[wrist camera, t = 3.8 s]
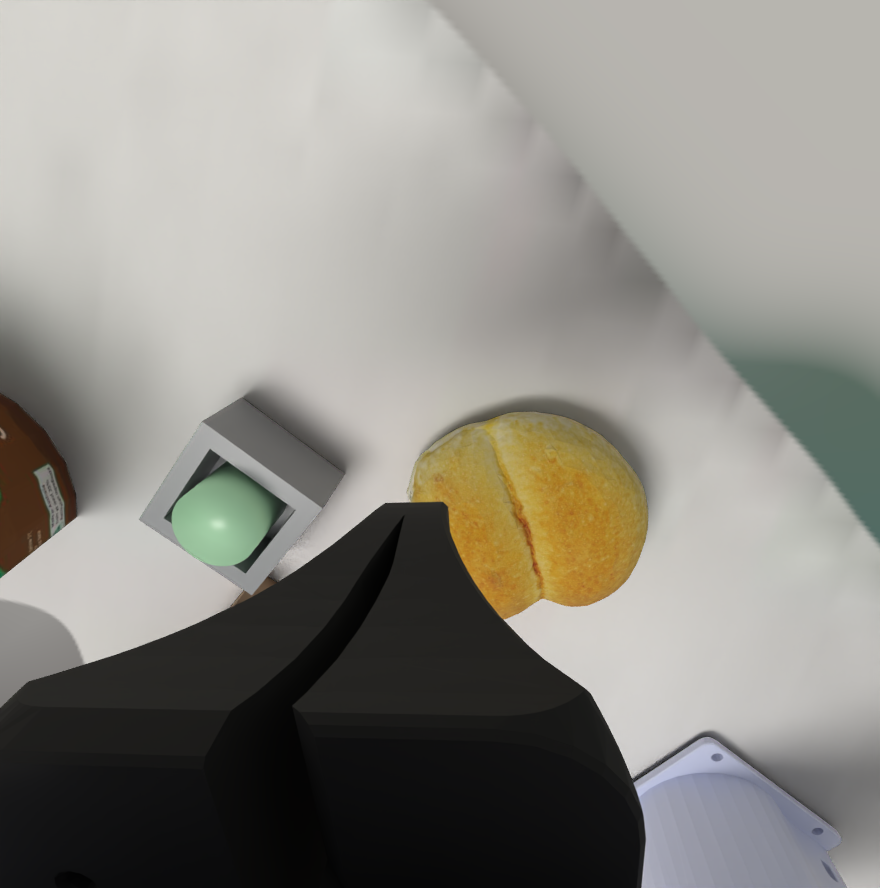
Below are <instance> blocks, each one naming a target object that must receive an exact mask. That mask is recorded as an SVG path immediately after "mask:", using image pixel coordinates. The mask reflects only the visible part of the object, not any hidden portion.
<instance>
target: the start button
mask: <svg viewBox="0 0 880 888" xmlns="http://www.w3.org/2000/svg"><path fill="white" fill-rule="evenodd" d="M286 507H287V503H285V502H284V501H282V500H281V499H280V498H278V497H277V496H275V495H274V494H273V493H271V492H270V491H268V490H267V489H266V488H264V487H263V486H261V485H260V484H259V483H257V482H256V481H254V480H253V479H252V478H250V477H249V476H247V475H246V474H245V473H243V472H242V471H240V470H239V469H238V468H236V467H235V466H233V465H232V464H231V463H229V462H228V461H226V462H225V463H224V464H222V465H221V466H220V467H219V468H217V469H216V470H215V471H214V472H212V473H211V474H210V475H209V476H207V477H206V478H205V479H204V480H202V481H201V482H200V483H199V484H197V485H196V486H195V487H194V488H192V489H191V490H190V491H189V492H188V493H186V494H185V495H184V496H183V497H181V498H180V499H179V500H178V502H177V503H176V505H175V507H174V509H173V512H172V528H173V531H174V534H175V536H176V538H177V540H178V542H179V543H180V544H181V546H182V547H183V548H184V549H185V550H186V551H187V552H188V553H189V554H191V555H192V556H193V557H195V558H196V559H198V560H200V561H202V562H204V563H207V564H211V565H215V566H231V565H235V564H238V563H240V562H242V561H244V560H245V559H246V558H248V556H249V555H250V554H251V553H252V552H253V551H254V549H255V548H256V547H257V545H258V544H259V543H260V542H261V540H262V539H263V538H264V536H265V535H266V534H267V533H268V531H269V530H270V529H271V528H272V526H273V525H274V524H275V522H276V521H277V520H278V519H279V517H280V516H281V515H282V513H283V512H284V511H285V509H286Z"/></svg>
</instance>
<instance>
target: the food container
mask: <svg viewBox="0 0 880 888" xmlns="http://www.w3.org/2000/svg"><path fill="white" fill-rule="evenodd" d="M76 517H77V514H76V493H75V490H74V487H73V484H72V481H71V478H70V475H69V472H68V469H67V465H66V462H65V461H64V459H63V458H62V456H61V455H60V453H59V451H58V450H57V448H56V447H55V445H54V444H53V442H52V441H51V439H50V437H49V436H48V434H47V433H46V431H45V430H44V429H43V428H42V427H41V426H40V425H39V424H38V423H37V422H36V421H35V420H34V419H33V418H31V417H30V416H29V415H28V414H27V413H26V412H25V411H24V410H23V409H22V408H21V407H20V406H19V405H18V404H17V403H15V402H14V401H12V400H10V399H9V398H7V397H6V396H4V395H2V394H1V393H0V578H1V577H2V576H4V575H5V574H6V573H7V572H9V571H10V570H11V569H12V568H14V567H15V566H16V565H17V564H19V563H20V562H21V561H22V560H24V559H25V558H26V557H27V556H29V555H30V554H31V553H32V552H34V551H35V550H36V549H37V548H39V547H40V546H41V545H42V544H44V543H45V542H46V541H47V540H49V539H50V538H51V537H52V536H54V535H55V534H56V533H57V532H59V531H60V530H61V529H62V528H64V527H65V526H66V525H67V524H69V523H70V522H71V521H72V520H74V519H75V518H76Z"/></svg>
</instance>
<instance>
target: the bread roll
mask: <svg viewBox="0 0 880 888" xmlns="http://www.w3.org/2000/svg"><path fill="white" fill-rule="evenodd" d="M407 495H408V499H409V500H410V502H444V503H445V504H446V505H447V506H448V510H449V523H450V532H451V535H452V538H453V541H454V543H455V545H456V548H457V550H458V553H459V555H460V557H461V559H462V561H463V563H464V565H465V566H466V568H467V570H468V572H469V574H470V575H471V577H472V579H473V580H474V582H475V584H476V585H477V587H478V588H479V590H480V591H481V592H482V594H483V595H484V597H485V598H486V599H487V601H488V602H489V603H490V605H491V606H492V607H493V608H494V610H495V611H496V612H497V613H498V615H499V616H500V617H501V618H502V619H506V618H509V617H511V616H513V615H516V614H519V613H520V612H522V611H523V610H525V609H526V608H528V607H529V606H531V605H532V604H533V603H535V602H537V601H539V600H540V599H547V600H549V601H553V602H555V603H558V604H561V605H564V606H571V607H573V606H587V605H590V604H593V603H595V602H597V601H600V600H602V599H604V598H606V597H608V596H609V595H610V594H612V593H613V592H615V591H616V590H617V589H618V588H619V587H620V586H622V585H623V584H624V583H625V582H626V580H627V579H628V578H629V576H630V575H631V573H632V571H633V569H634V568H635V566H636V564H637V562H638V559H639V557H640V554H641V551H642V548H643V546H644V543H645V539H646V534H647V528H648V508H647V501H646V495H645V492H644V488H643V486H642V484H641V482H640V480H639V478H638V476H637V474H636V473H635V472H634V470H633V469H632V468H631V466H630V465H629V464H628V462H627V461H626V460H625V459H624V458H623V457H622V456H621V454H620V453H619V452H618V451H617V450H616V449H615V447H614V446H613V445H611V444H610V443H609V442H607V441H606V439H605V438H604V437H603V436H602V435H600V434H598V433H597V432H595V431H594V430H592V429H590V428H588V427H587V426H584V425H582V424H580V423H578V422H576V421H575V420H572V419H569V418H566V417H563V416H558V415H554V414H547V413H539V412H512V413H507V414H504V415H500V416H497V417H495V418H492V419H489V420H488V421H483V422H477V423H472V424H468V425H465V426H462V427H460V428H457V429H456V430H454V431H452V432H451V433H449V434H447V435H446V436H444V437H443V438H441V439H439V440H438V441H436V442H435V443H434V444H433V445H432V446H431V447H430V448H429V449H428V450H426V451H425V452H424V453H423V454H422V455H421V456H420V457H419V458H418V460H417V461H416V463H415V465H414V469H413V472H412V475H411V479H410V483H409V487H408V490H407Z"/></svg>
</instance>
